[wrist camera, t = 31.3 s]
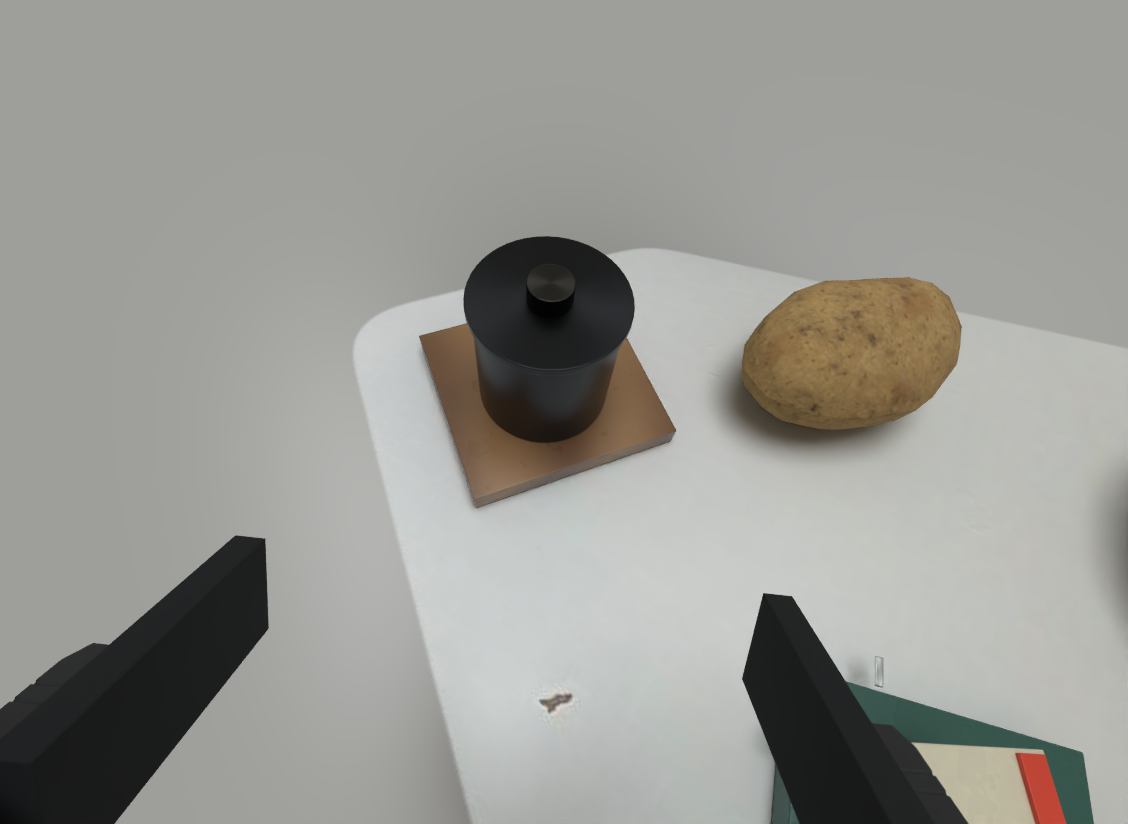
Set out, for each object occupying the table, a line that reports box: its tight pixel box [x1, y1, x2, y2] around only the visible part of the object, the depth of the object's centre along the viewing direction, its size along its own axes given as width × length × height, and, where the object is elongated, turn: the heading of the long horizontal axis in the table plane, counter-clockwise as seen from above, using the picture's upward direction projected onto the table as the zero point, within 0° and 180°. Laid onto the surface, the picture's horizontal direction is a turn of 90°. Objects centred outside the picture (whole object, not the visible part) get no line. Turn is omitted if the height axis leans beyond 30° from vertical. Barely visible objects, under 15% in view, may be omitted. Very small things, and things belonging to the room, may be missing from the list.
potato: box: [742, 277, 962, 430], centre depth 36 cm, size 10×14×8 cm
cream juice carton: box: [911, 742, 1066, 824], centre depth 24 cm, size 6×2×7 cm, turn 87°
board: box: [419, 323, 676, 508], centre depth 37 cm, size 13×12×2 cm
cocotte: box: [464, 236, 635, 443], centre depth 32 cm, size 9×9×10 cm
